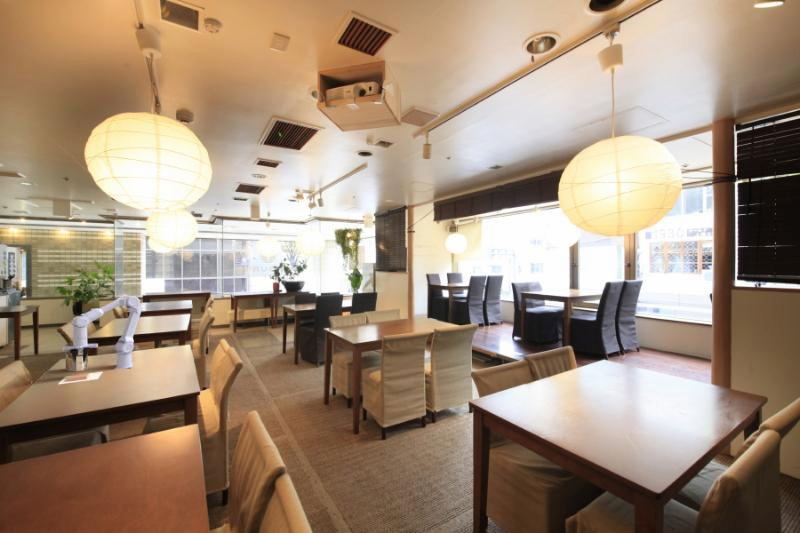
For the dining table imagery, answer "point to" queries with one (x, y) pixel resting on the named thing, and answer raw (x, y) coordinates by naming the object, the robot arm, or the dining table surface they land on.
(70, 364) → the coffee box
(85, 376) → the tile
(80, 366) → the tall beige block
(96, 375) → the mat
